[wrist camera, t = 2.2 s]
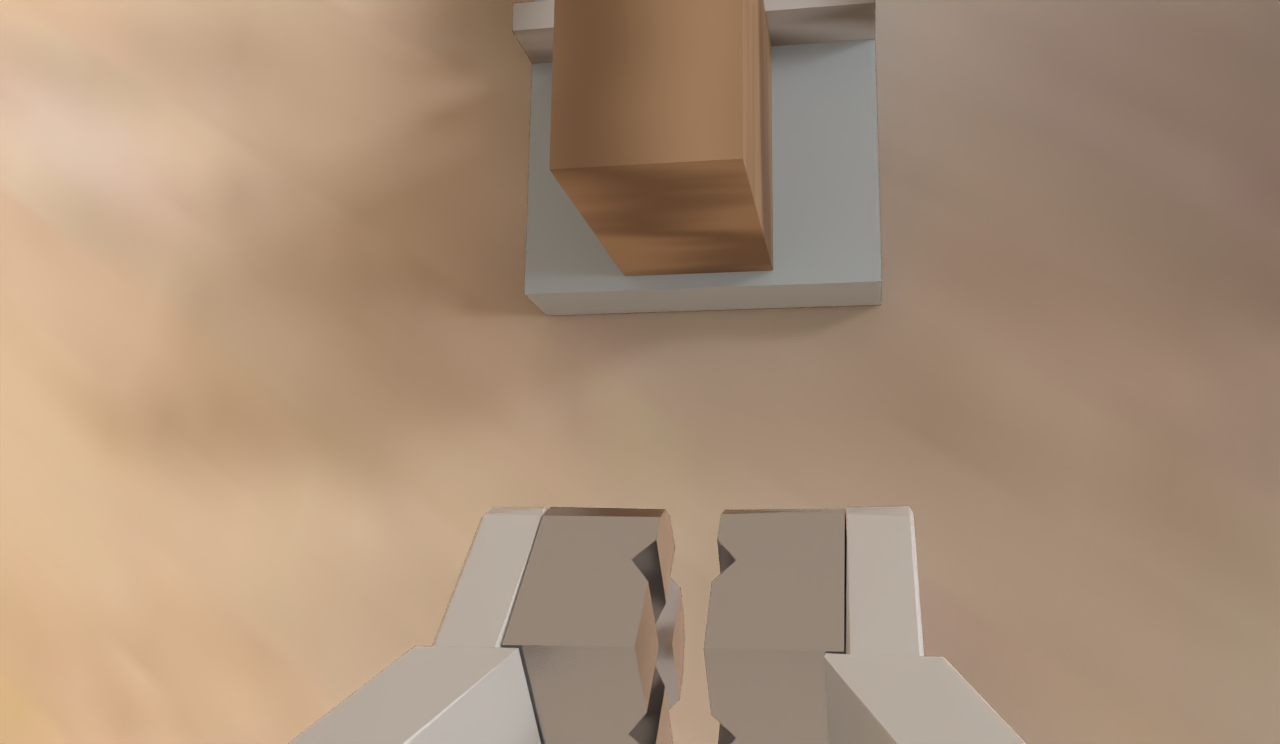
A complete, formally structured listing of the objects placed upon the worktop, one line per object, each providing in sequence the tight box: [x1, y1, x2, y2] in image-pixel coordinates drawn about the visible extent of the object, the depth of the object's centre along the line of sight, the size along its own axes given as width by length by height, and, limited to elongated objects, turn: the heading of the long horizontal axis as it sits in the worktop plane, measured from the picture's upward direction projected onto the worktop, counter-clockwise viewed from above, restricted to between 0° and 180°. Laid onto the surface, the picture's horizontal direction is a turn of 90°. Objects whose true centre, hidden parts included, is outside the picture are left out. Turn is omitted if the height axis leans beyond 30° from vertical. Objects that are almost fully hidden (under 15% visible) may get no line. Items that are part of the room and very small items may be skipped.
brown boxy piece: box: [512, 0, 875, 276], centre depth 36 cm, size 12×9×10 cm
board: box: [524, 0, 882, 316], centre depth 43 cm, size 12×16×3 cm
